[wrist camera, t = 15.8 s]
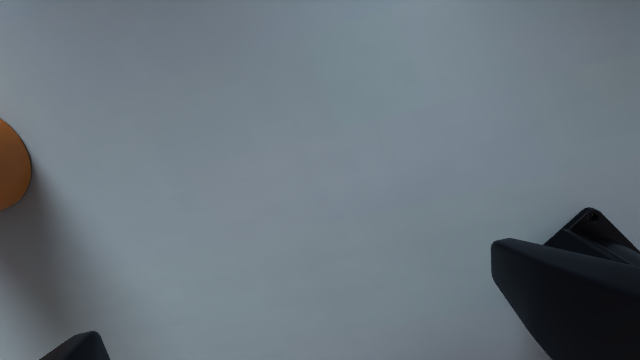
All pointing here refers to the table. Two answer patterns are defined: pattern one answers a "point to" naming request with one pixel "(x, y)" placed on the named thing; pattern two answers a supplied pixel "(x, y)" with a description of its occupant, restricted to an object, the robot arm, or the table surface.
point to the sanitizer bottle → (12, 167)
